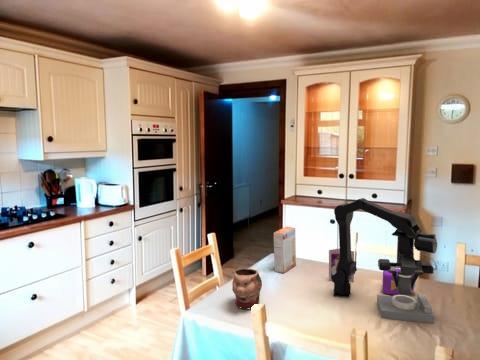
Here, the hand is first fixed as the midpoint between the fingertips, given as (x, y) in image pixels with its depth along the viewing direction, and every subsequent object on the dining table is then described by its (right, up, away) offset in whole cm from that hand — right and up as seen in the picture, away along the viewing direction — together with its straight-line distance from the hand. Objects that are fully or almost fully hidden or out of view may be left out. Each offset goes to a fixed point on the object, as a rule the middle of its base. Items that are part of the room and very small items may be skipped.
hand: (404, 287), depth 139 cm
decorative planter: (-60, -10, +12) cm, 62 cm away
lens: (0, -2, 0) cm, 2 cm away
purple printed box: (-15, -7, +35) cm, 38 cm away
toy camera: (+6, -8, +19) cm, 21 cm away
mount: (0, -10, +1) cm, 10 cm away
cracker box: (-39, -5, +50) cm, 64 cm away
